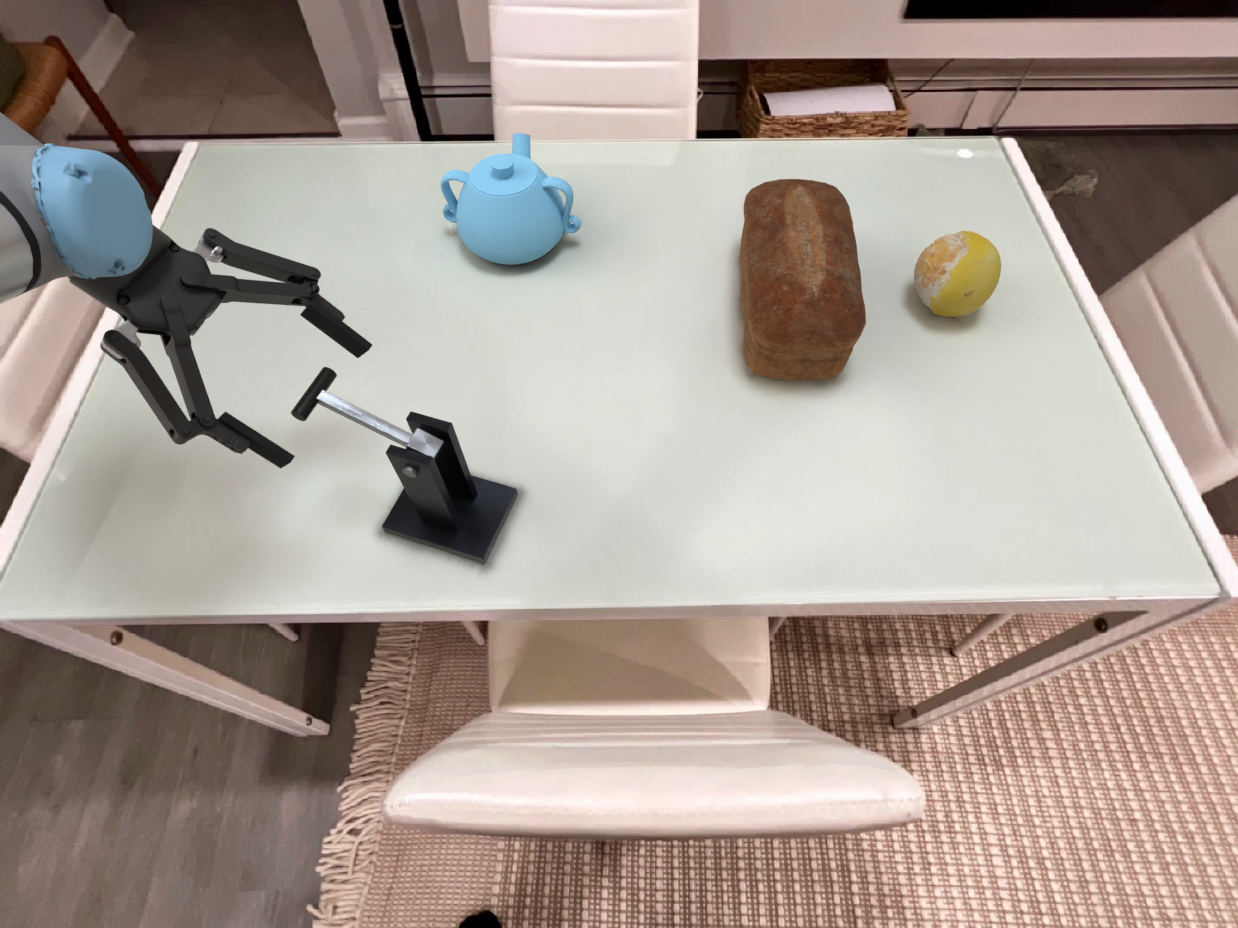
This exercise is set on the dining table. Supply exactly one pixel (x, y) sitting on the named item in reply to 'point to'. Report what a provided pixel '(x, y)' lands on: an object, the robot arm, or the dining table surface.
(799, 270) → the bread
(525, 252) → the teapot
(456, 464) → the bracket
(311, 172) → the dining table surface
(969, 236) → the fruit
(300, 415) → the lever
